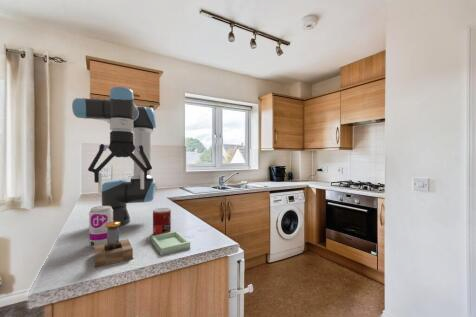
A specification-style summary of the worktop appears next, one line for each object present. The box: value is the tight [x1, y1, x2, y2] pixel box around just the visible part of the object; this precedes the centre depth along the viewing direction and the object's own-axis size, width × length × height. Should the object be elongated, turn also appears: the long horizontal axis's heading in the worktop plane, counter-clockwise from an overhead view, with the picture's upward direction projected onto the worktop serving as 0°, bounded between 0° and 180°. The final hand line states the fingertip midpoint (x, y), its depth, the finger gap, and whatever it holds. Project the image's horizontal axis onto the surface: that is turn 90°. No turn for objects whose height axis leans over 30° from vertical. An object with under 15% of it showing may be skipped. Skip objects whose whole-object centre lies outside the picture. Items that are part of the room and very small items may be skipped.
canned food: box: [152, 207, 172, 235], centre depth 103 cm, size 8×8×11 cm
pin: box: [106, 221, 121, 251], centre depth 78 cm, size 5×5×12 cm
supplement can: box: [88, 205, 113, 248], centre depth 90 cm, size 8×8×15 cm
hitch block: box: [93, 238, 134, 268], centre depth 78 cm, size 11×11×4 cm
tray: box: [150, 230, 191, 256], centre depth 89 cm, size 16×11×2 cm
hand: (122, 190), depth 79 cm, fingers open, 13 cm apart
